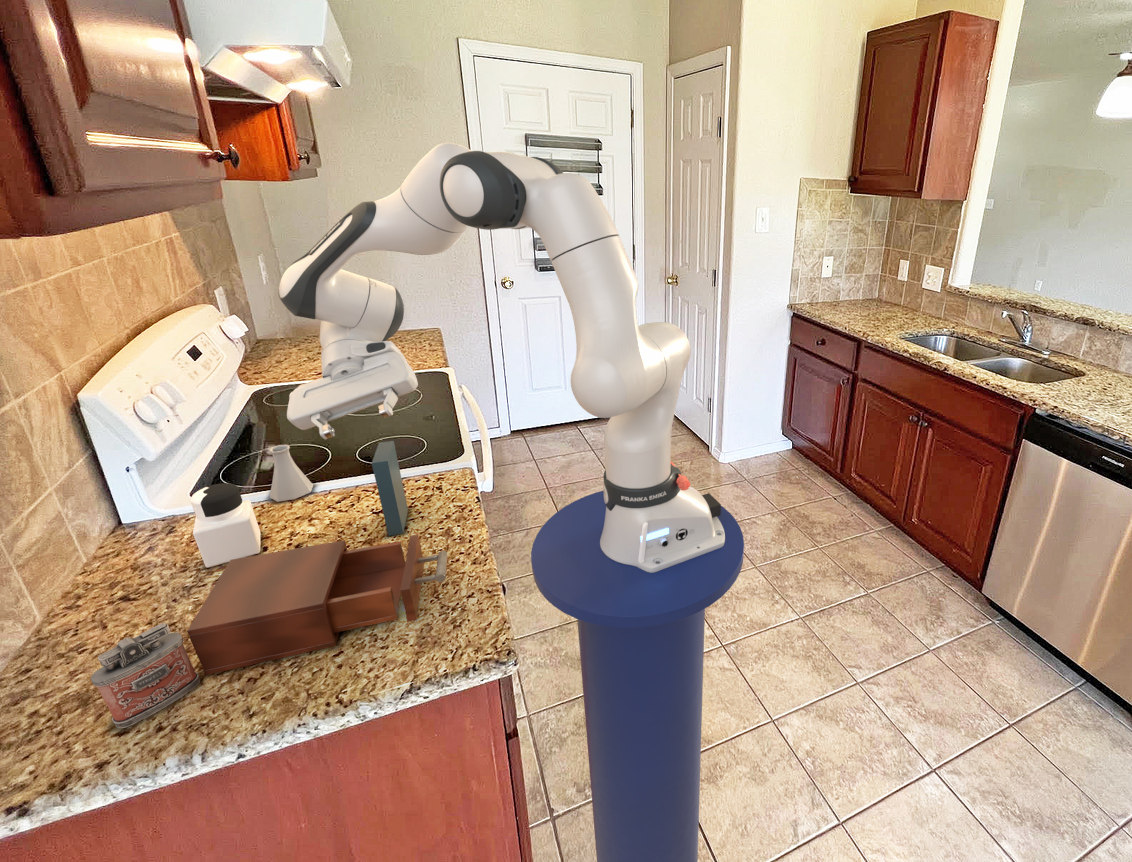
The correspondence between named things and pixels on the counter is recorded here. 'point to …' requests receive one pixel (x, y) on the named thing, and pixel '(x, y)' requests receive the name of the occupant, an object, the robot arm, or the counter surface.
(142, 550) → the counter surface
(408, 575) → the drawer
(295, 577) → the cabinet
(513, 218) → the robot arm
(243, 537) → the medicine bottle
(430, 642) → the counter surface
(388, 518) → the dark teal rectangular block
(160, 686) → the lighter
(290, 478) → the flask
